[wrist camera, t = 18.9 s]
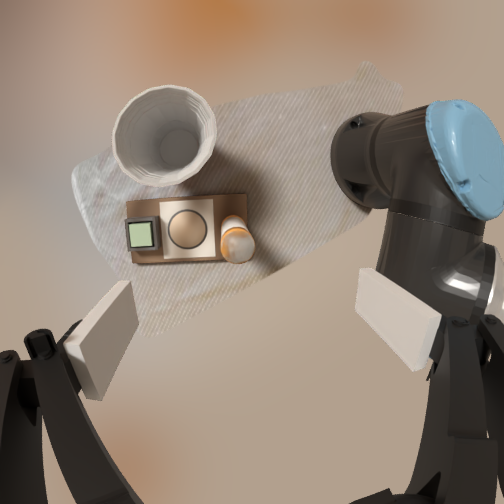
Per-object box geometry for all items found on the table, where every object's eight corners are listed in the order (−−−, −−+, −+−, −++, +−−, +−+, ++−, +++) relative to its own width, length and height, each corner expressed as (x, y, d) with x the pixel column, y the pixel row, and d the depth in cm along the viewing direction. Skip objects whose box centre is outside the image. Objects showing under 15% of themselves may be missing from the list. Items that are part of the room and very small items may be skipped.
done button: (153, 221, 36) (149, 223, 34) (155, 242, 37) (151, 245, 35) (133, 222, 36) (128, 224, 34) (135, 243, 36) (131, 246, 34)
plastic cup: (229, 170, 37) (231, 164, 25) (156, 196, 36) (129, 203, 25) (205, 100, 34) (199, 68, 22) (134, 128, 33) (101, 109, 22)
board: (246, 193, 38) (248, 194, 35) (247, 256, 40) (249, 262, 37) (128, 201, 36) (121, 202, 33) (134, 261, 38) (128, 267, 35)
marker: (244, 214, 37) (254, 229, 26) (245, 238, 38) (255, 263, 27) (220, 215, 37) (219, 230, 25) (221, 239, 38) (221, 264, 26)
